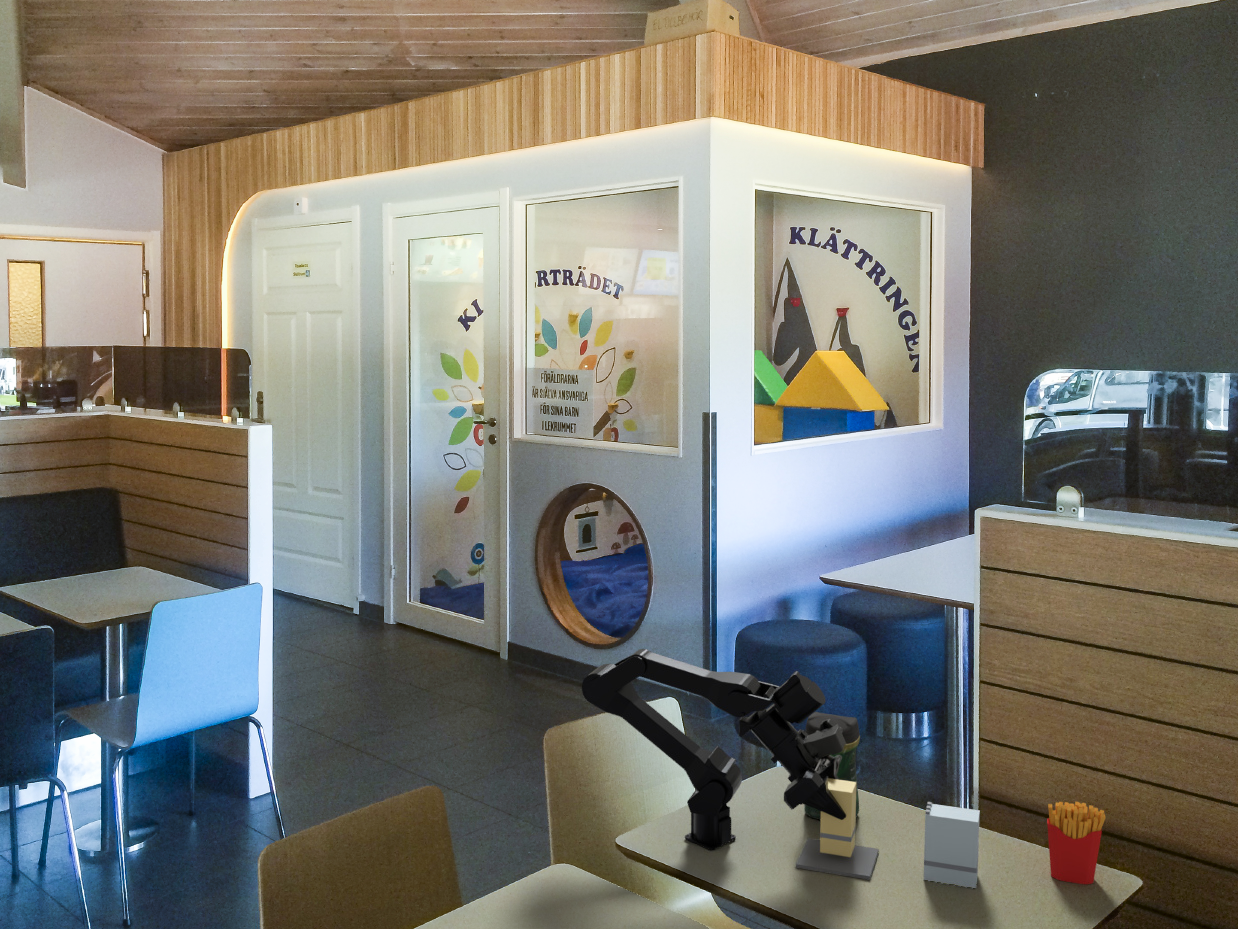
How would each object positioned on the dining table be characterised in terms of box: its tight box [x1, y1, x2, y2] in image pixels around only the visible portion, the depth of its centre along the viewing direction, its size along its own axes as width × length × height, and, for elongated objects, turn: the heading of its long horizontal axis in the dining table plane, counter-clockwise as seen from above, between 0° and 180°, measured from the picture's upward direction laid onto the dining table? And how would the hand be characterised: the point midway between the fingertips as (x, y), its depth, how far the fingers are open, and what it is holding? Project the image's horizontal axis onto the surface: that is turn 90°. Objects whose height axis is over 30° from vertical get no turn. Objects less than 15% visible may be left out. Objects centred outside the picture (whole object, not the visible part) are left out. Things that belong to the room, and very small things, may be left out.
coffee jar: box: [803, 711, 861, 820], centre depth 200 cm, size 10×8×19 cm
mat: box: [795, 837, 880, 881], centre depth 184 cm, size 12×10×1 cm
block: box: [819, 778, 857, 857], centre depth 183 cm, size 5×4×11 cm
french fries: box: [1046, 801, 1107, 885], centre depth 177 cm, size 8×4×12 cm, turn 69°
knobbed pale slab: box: [923, 801, 981, 889], centre depth 177 cm, size 8×4×11 cm, turn 69°
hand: (846, 812), depth 183 cm, fingers closed on block, 4 cm apart
